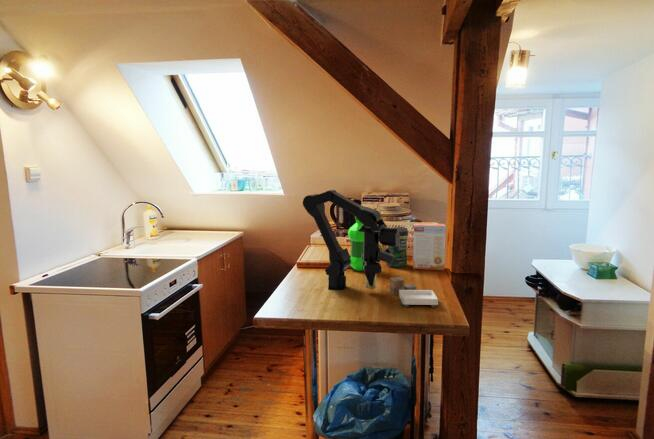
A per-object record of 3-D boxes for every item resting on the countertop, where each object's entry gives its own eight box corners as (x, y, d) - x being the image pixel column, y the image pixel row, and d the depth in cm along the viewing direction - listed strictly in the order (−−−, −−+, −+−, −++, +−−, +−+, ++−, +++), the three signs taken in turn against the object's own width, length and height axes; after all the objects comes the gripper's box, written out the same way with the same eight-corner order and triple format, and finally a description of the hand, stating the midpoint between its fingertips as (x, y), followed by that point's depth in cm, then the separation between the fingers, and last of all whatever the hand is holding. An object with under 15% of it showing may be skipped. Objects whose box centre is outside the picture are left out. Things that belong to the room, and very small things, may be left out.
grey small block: (405, 296, 146) (405, 288, 146) (403, 292, 150) (403, 284, 150) (416, 296, 146) (417, 288, 145) (414, 292, 150) (415, 284, 150)
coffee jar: (394, 269, 180) (395, 229, 177) (383, 265, 187) (384, 226, 183) (410, 266, 184) (411, 227, 181) (399, 262, 191) (400, 224, 188)
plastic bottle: (348, 265, 186) (348, 213, 182) (370, 266, 185) (371, 213, 181) (347, 271, 176) (347, 217, 172) (370, 272, 175) (371, 217, 171)
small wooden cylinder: (365, 289, 146) (365, 273, 145) (365, 285, 150) (365, 270, 149) (376, 289, 146) (376, 273, 145) (375, 285, 150) (375, 270, 149)
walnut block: (393, 296, 146) (394, 280, 145) (389, 292, 150) (390, 277, 149) (403, 295, 147) (404, 280, 146) (399, 291, 151) (399, 276, 150)
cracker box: (443, 267, 182) (445, 223, 179) (444, 271, 177) (446, 225, 173) (412, 265, 185) (414, 222, 182) (412, 269, 180) (414, 224, 176)
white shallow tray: (402, 307, 134) (402, 298, 133) (398, 298, 143) (398, 289, 142) (437, 308, 133) (438, 299, 133) (431, 298, 142) (432, 290, 142)
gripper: (396, 250, 136) (395, 292, 139) (390, 238, 154) (389, 276, 157) (364, 250, 136) (363, 292, 139) (361, 238, 155) (361, 276, 157)
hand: (370, 284), depth 148 cm, fingers closed on small wooden cylinder, 4 cm apart
